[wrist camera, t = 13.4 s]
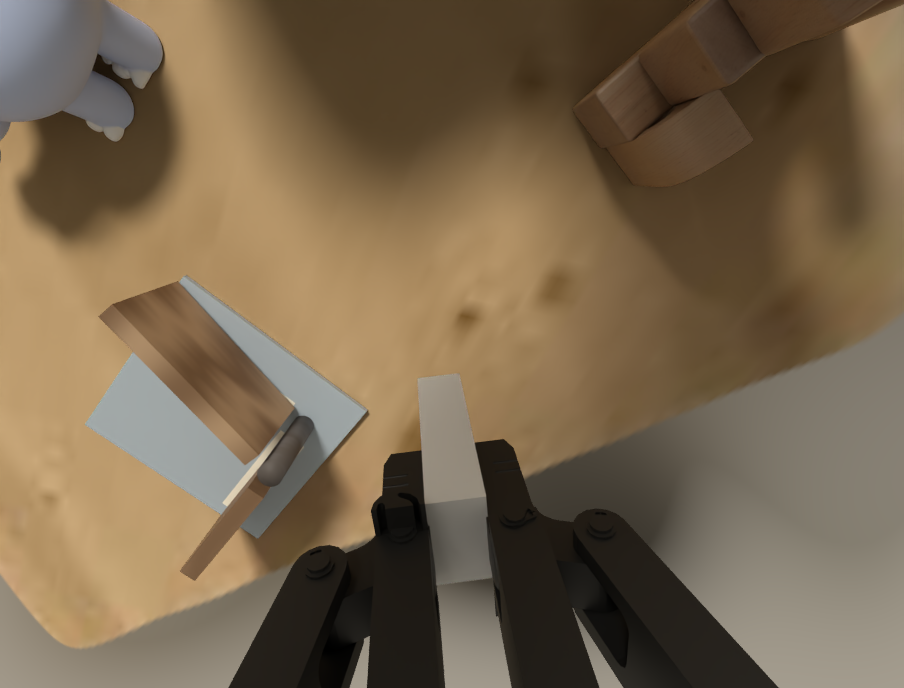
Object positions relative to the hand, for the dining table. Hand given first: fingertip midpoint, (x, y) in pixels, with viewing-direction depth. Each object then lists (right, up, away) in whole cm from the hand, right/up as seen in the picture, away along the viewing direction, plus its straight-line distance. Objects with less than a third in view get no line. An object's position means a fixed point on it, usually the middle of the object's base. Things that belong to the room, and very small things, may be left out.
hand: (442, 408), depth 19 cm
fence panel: (-16, +2, +19) cm, 24 cm away
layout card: (-17, -3, +21) cm, 27 cm away
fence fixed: (-14, -7, +22) cm, 27 cm away
